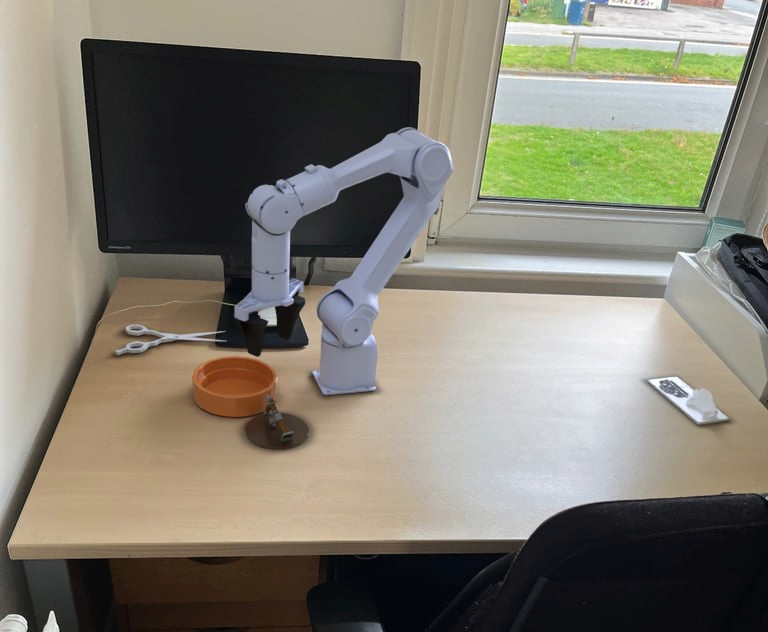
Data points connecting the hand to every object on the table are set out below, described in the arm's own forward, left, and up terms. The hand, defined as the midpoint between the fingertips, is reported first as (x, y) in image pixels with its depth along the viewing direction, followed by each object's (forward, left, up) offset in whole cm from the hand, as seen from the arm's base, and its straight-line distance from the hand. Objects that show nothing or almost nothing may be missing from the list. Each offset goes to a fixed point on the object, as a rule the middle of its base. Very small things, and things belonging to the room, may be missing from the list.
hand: (269, 345), depth 134 cm
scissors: (+13, -22, -9) cm, 27 cm away
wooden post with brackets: (+1, +11, -9) cm, 15 cm away
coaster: (+1, +11, -9) cm, 14 cm away
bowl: (+6, 0, -9) cm, 11 cm away
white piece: (-74, +15, -10) cm, 76 cm away
